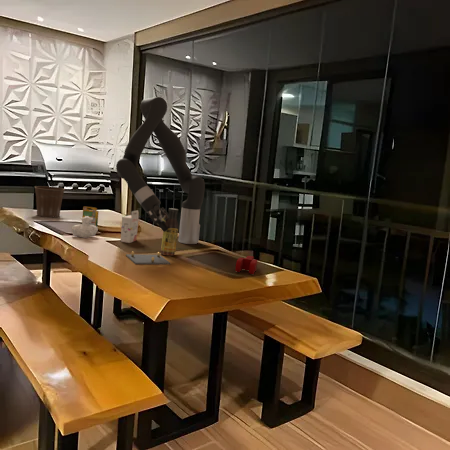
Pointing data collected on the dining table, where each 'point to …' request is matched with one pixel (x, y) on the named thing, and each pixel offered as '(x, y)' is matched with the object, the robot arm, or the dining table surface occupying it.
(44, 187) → the plant pot
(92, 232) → the bust
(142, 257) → the slate pad
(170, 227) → the sauce bottle
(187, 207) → the robot arm
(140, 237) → the dining table surface
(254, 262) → the mechanical linkage
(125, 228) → the ink cartridge box
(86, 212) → the crayon box
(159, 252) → the brass pins
